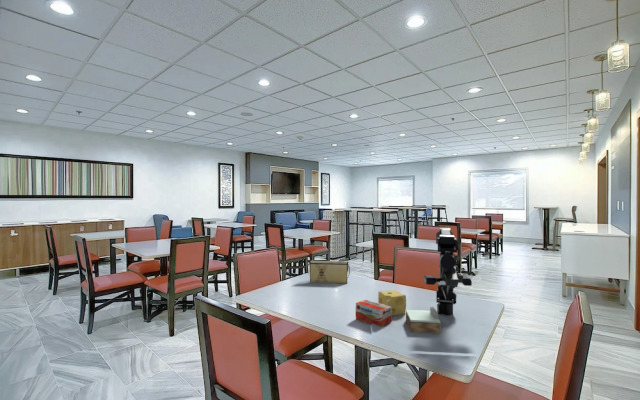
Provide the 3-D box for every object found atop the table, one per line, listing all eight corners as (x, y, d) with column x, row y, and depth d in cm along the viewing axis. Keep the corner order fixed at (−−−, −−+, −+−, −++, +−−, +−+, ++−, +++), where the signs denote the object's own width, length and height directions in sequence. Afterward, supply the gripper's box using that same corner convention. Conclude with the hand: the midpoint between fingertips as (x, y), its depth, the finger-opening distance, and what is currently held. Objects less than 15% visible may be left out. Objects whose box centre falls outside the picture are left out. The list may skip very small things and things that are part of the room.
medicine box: (392, 323, 139) (392, 306, 139) (382, 329, 133) (382, 310, 134) (364, 315, 150) (364, 298, 150) (354, 319, 144) (354, 302, 144)
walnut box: (432, 323, 139) (432, 313, 139) (440, 335, 127) (440, 323, 127) (405, 322, 140) (405, 312, 140) (410, 333, 128) (410, 322, 128)
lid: (432, 312, 139) (432, 305, 139) (440, 322, 127) (440, 315, 127) (405, 311, 140) (405, 304, 140) (410, 321, 128) (410, 314, 128)
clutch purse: (350, 281, 213) (350, 259, 213) (349, 284, 206) (349, 261, 206) (308, 280, 216) (308, 259, 216) (306, 282, 209) (306, 260, 209)
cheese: (387, 317, 146) (387, 297, 146) (377, 310, 156) (377, 290, 156) (406, 315, 149) (406, 295, 149) (395, 308, 159) (395, 289, 159)
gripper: (429, 267, 125) (429, 305, 125) (476, 268, 123) (477, 307, 123) (423, 262, 136) (423, 297, 136) (466, 263, 134) (466, 298, 134)
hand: (447, 300), depth 132 cm, fingers closed
